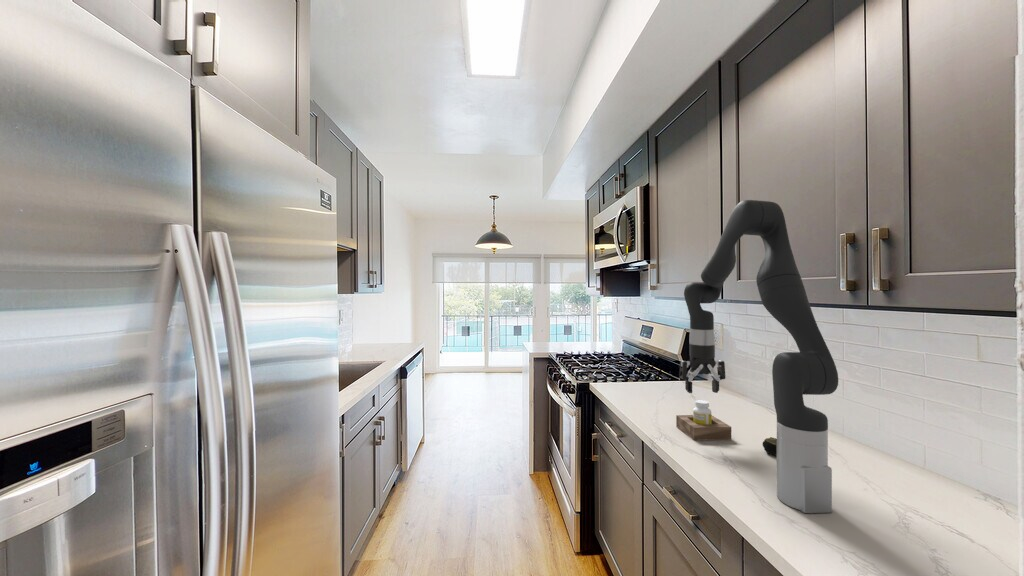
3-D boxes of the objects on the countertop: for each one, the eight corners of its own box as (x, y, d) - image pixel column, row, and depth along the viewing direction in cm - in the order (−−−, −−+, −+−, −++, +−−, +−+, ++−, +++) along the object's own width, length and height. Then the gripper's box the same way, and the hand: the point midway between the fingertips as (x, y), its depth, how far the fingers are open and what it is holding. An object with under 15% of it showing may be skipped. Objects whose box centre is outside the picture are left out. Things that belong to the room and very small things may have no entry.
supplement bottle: (705, 428, 134) (705, 399, 133) (715, 434, 128) (715, 403, 128) (690, 428, 133) (690, 399, 133) (698, 434, 128) (698, 404, 128)
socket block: (731, 439, 125) (731, 426, 125) (694, 440, 124) (693, 427, 124) (710, 426, 137) (710, 414, 137) (676, 426, 136) (676, 415, 136)
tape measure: (796, 456, 113) (796, 443, 113) (783, 461, 110) (783, 447, 110) (771, 447, 119) (771, 435, 119) (758, 452, 116) (758, 439, 116)
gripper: (686, 344, 127) (686, 395, 126) (729, 344, 127) (730, 395, 127) (675, 341, 134) (675, 390, 134) (716, 341, 135) (717, 389, 135)
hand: (702, 392), depth 131 cm, fingers open, 8 cm apart
